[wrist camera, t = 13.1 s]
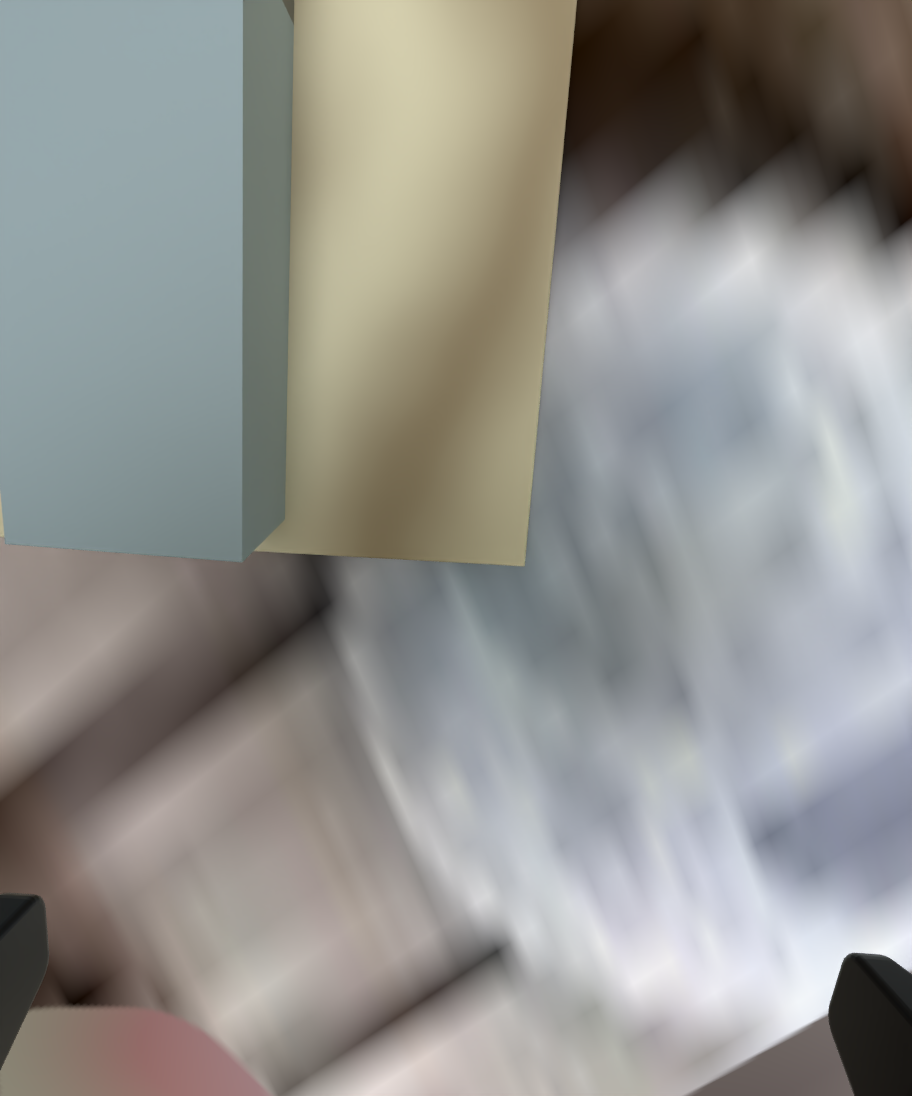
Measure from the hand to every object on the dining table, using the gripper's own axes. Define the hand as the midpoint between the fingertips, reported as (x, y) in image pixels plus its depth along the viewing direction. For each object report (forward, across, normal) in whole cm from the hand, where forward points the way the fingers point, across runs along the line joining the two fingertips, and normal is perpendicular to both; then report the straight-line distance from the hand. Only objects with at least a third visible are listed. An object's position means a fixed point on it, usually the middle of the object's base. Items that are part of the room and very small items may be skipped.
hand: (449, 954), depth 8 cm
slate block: (+10, +7, -2) cm, 12 cm away
